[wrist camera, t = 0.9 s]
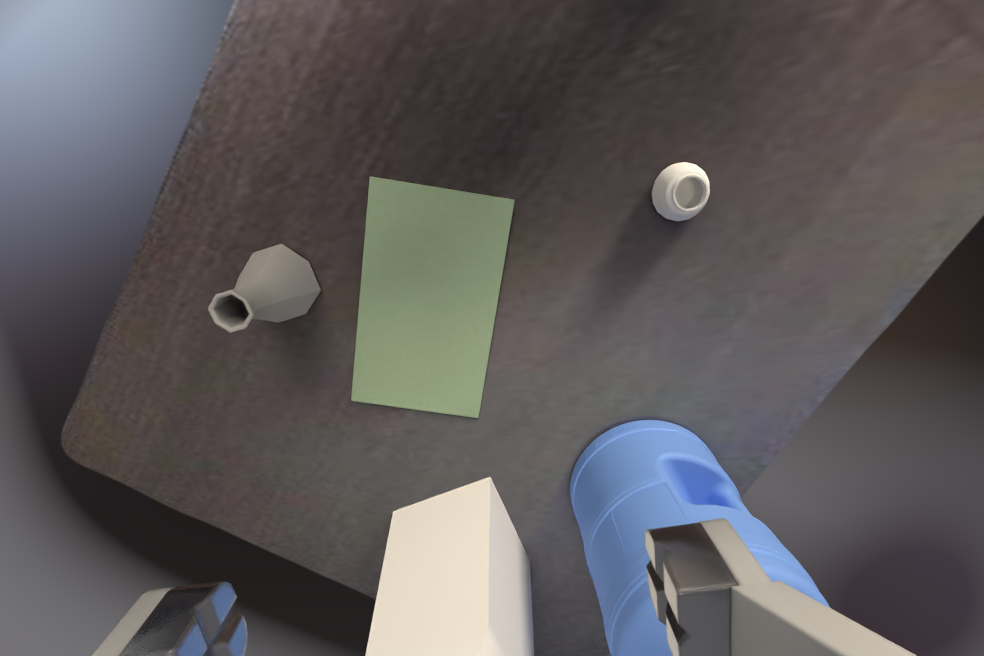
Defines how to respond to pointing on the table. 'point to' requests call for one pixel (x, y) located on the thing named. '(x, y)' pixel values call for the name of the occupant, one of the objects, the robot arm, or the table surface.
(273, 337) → the table surface
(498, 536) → the milk
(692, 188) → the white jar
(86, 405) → the table surface
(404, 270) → the placemat
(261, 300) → the flask
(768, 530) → the water jug
